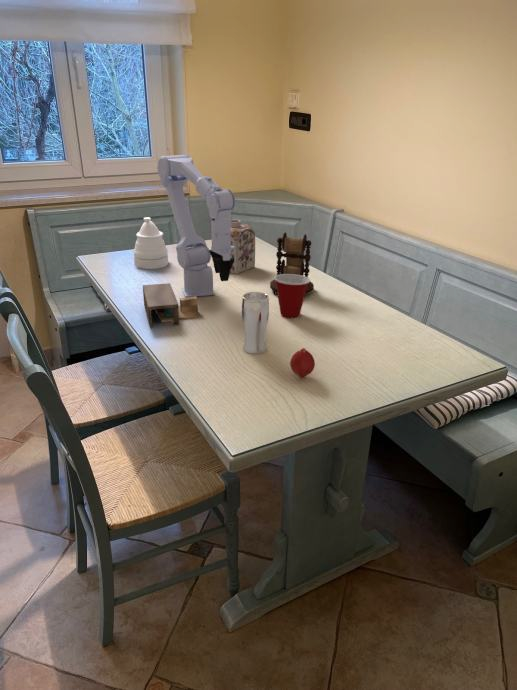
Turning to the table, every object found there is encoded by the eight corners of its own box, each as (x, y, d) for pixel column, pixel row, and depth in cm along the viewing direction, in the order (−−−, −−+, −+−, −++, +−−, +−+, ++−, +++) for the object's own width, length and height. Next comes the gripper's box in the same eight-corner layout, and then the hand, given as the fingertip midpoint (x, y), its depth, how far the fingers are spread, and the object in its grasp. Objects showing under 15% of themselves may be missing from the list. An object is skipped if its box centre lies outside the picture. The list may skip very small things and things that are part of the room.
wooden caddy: (171, 302, 168) (170, 283, 165) (179, 325, 152) (178, 304, 149) (144, 304, 166) (142, 285, 163) (149, 327, 150) (148, 306, 147)
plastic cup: (313, 311, 163) (315, 274, 158) (300, 324, 155) (303, 285, 149) (280, 305, 167) (282, 269, 162) (267, 317, 159) (268, 279, 153)
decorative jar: (232, 261, 208) (232, 215, 200) (255, 267, 202) (256, 220, 194) (212, 268, 199) (211, 221, 191) (236, 275, 193) (236, 226, 185)
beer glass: (264, 356, 136) (266, 302, 129) (238, 353, 137) (239, 299, 130) (269, 344, 142) (271, 292, 135) (244, 342, 143) (245, 290, 136)
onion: (288, 371, 129) (289, 342, 125) (311, 370, 130) (313, 341, 126) (291, 383, 124) (293, 353, 120) (315, 382, 124) (317, 352, 121)
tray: (193, 307, 166) (192, 292, 163) (201, 318, 158) (200, 302, 156) (155, 312, 162) (154, 297, 159) (161, 323, 154) (160, 307, 152)
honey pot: (165, 269, 198) (162, 221, 190) (131, 268, 198) (126, 220, 190) (170, 259, 209) (168, 213, 201) (138, 258, 209) (134, 212, 201)
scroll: (316, 286, 184) (321, 230, 175) (308, 301, 171) (312, 241, 162) (275, 282, 187) (278, 226, 178) (264, 296, 174) (266, 236, 166)
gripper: (240, 238, 150) (240, 283, 156) (228, 226, 162) (228, 268, 168) (216, 239, 148) (216, 285, 154) (206, 227, 161) (207, 269, 167)
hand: (221, 276), depth 161 cm, fingers open, 7 cm apart
